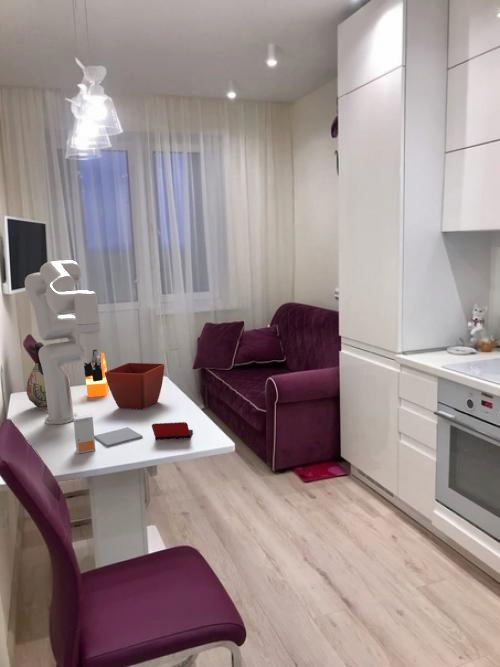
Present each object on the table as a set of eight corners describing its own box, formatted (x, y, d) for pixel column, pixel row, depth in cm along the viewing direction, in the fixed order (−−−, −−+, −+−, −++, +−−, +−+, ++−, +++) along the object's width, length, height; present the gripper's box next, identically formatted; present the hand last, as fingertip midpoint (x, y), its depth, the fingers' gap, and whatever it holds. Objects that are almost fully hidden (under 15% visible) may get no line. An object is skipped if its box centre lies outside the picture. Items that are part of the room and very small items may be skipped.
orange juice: (90, 392, 254) (86, 352, 251) (109, 391, 255) (105, 351, 252) (87, 397, 246) (83, 355, 243) (106, 395, 247) (102, 354, 244)
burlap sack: (24, 407, 234) (16, 342, 230) (59, 400, 244) (52, 337, 239) (35, 415, 221) (26, 346, 216) (71, 407, 230) (64, 340, 226)
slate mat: (94, 437, 188) (94, 435, 188) (128, 429, 196) (127, 427, 196) (107, 447, 178) (107, 445, 178) (142, 437, 186) (142, 435, 185)
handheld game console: (193, 432, 189) (192, 412, 188) (188, 443, 179) (187, 422, 178) (159, 433, 190) (157, 414, 189) (152, 444, 179) (150, 423, 178)
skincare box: (77, 454, 173) (73, 419, 171) (76, 450, 177) (72, 416, 175) (96, 450, 176) (92, 416, 174) (94, 446, 179) (91, 413, 178)
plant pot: (145, 413, 215) (142, 373, 213) (107, 410, 222) (103, 372, 219) (168, 400, 233) (165, 363, 231) (131, 398, 240) (128, 362, 237)
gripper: (70, 327, 179) (76, 376, 182) (84, 332, 165) (89, 384, 167) (92, 325, 183) (97, 372, 186) (107, 329, 169) (112, 380, 171)
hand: (93, 378), depth 177 cm, fingers open, 9 cm apart
